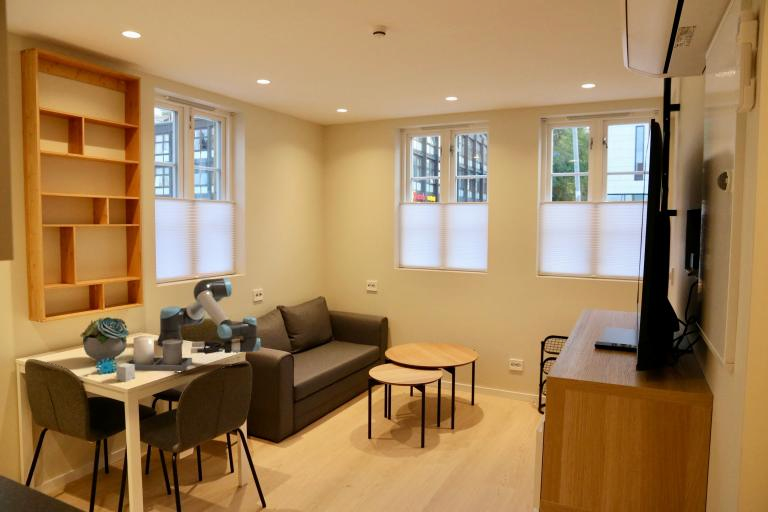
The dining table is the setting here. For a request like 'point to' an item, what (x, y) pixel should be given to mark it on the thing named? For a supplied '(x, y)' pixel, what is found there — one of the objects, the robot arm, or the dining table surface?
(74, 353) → the dining table surface
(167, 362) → the pillar candle
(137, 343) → the white candle
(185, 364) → the tray
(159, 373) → the dining table surface
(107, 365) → the gear
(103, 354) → the flower arrangement
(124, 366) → the skincare box
